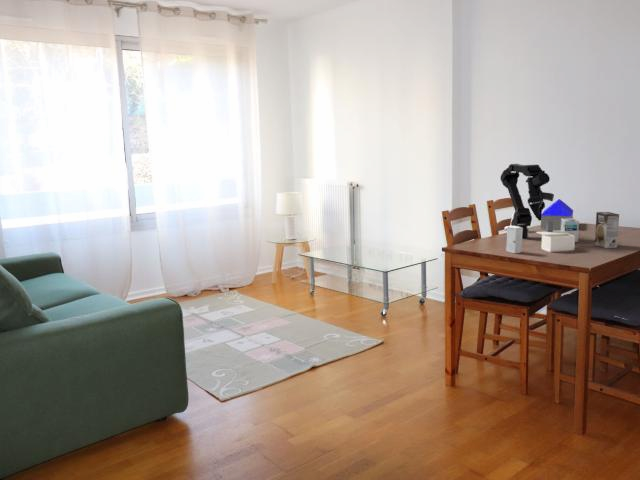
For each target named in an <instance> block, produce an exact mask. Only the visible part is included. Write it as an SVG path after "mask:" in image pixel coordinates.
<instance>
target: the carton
mask: <svg viewBox="0 0 640 480" xmlns="http://www.w3.org/2000/svg"><path fill="white" fill-rule="evenodd" d="M575 244H576V242H575V236H573V235H570V234H563V235H546V236H545V235H541V247H540V248H541V250H543V251H546V252H548V253H556V252H557V253H559V252H560V253H561V252H573V251H575V246H576V245H575Z"/></svg>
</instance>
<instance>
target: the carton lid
mask: <svg viewBox="0 0 640 480" xmlns="http://www.w3.org/2000/svg"><path fill="white" fill-rule="evenodd" d="M535 234H538V235H541V236H542V235H545V236H546V235H563V234H570V233H567V232H563V231H561V230H554V229H553V221H546V229H545V231H535Z"/></svg>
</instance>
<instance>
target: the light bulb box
mask: <svg viewBox="0 0 640 480" xmlns="http://www.w3.org/2000/svg"><path fill="white" fill-rule="evenodd" d="M579 222H580V221H578V220H577V219H575V218H573V219H564V218H561V230H560V231H563V232H567V233H570V235H573V236H575V243H579V229H580V228H579V226H580V225H579Z"/></svg>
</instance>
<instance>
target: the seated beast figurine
mask: <svg viewBox="0 0 640 480" xmlns="http://www.w3.org/2000/svg"><path fill="white" fill-rule="evenodd" d="M514 213H515V210H514V211H513V213H512V215H511V220H510V222H511V221H512V220H513V218H514ZM508 226H511V223H510V225H507V226H505V227H504V231H507V227H508Z"/></svg>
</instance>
